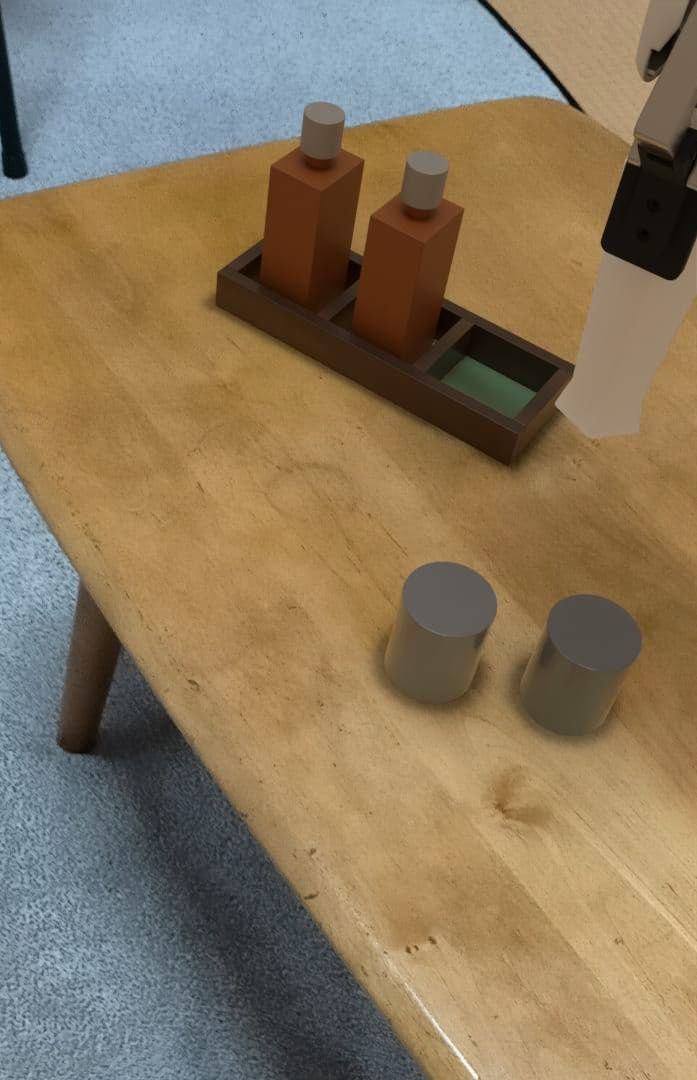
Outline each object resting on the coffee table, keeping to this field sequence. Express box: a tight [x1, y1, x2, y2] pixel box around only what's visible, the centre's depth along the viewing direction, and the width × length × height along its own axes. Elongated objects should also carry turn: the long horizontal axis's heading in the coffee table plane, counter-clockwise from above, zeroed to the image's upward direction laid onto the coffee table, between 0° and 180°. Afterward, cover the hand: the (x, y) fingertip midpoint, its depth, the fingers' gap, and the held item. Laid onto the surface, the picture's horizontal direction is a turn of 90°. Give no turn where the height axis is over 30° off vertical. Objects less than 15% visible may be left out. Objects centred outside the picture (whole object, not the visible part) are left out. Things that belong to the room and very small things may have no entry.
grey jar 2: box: [519, 593, 643, 737], centre depth 66 cm, size 5×5×7 cm
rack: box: [214, 237, 576, 467], centre depth 85 cm, size 9×24×4 cm, turn 56°
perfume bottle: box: [555, 108, 697, 440], centre depth 49 cm, size 5×4×15 cm
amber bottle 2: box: [349, 149, 465, 365], centre depth 80 cm, size 4×5×15 cm
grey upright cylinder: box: [383, 561, 498, 705], centre depth 66 cm, size 5×5×7 cm
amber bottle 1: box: [259, 101, 366, 314], centre depth 82 cm, size 4×5×15 cm
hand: (668, 226), depth 47 cm, fingers closed on perfume bottle, 4 cm apart
